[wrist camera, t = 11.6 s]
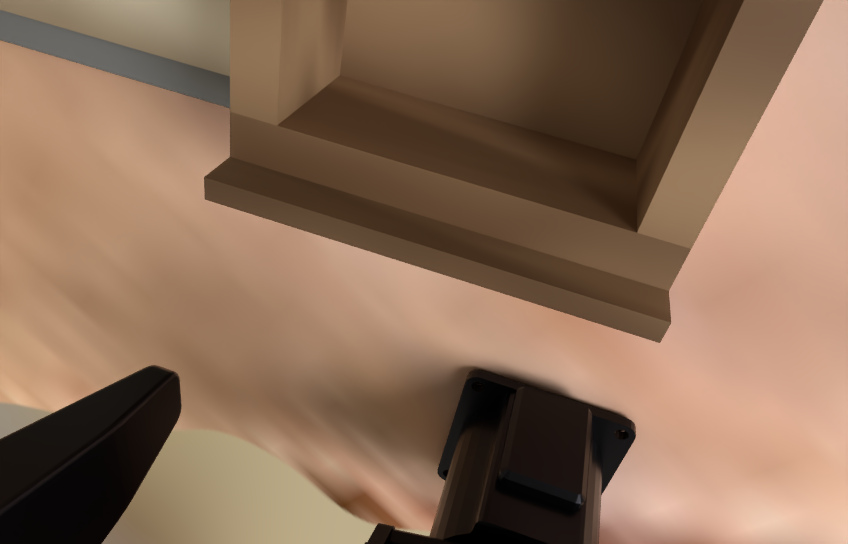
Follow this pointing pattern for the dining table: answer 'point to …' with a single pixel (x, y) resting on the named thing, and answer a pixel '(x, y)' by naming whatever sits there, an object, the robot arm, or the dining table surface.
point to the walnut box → (505, 134)
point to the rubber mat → (115, 58)
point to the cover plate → (144, 25)
